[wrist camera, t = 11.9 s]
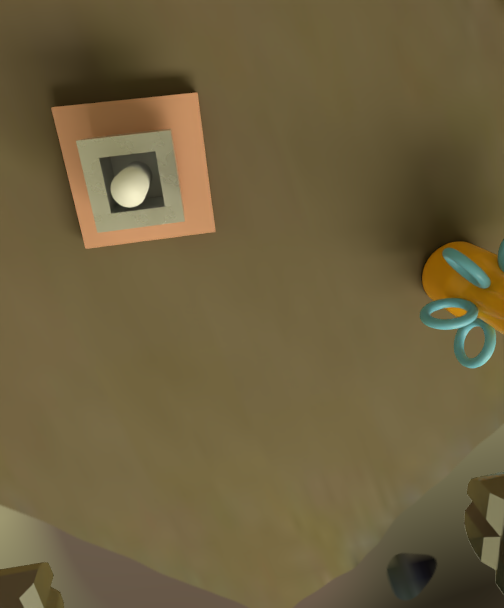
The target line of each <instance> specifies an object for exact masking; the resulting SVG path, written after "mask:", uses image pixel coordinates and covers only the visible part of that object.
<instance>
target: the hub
mask: <svg viewBox="0 0 504 608" xmlns="http://www.w3.org/2000/svg"><path fill="white" fill-rule="evenodd" d="M76 144H77V148H78V152H79V156H80V161H81V165H82V169H83V173H84V178H85V182H86V186H87V191H88V195H89V199H90V203H91V208H92V212H93V216H94V220H95V225H96V229H97V233H101V232H108V231H116V230H123V229H131V228H139V227H146V226H154V225H161V224H169V223H177V222H184V221H185V217H184V206H183V199H182V193H181V187H180V180H179V174H178V167H177V161H176V155H175V148H174V142H173V136H172V129H171V128H169V129H160V130H151V131H142V132H133V133H124V134H115V135H106V136H98V137H89V138H85V139H81V140H77V141H76ZM154 151H155V152H156V158H157V163H158V169H159V175H160V181H161V187H162V192H163V196H158V197H150V198H145V199H144V200H143V202H142V203H141V204H139V205H138V206H135V207H124V206H122V205H120V204H118V203H117V202H116V201H115V200H114V198H113V196H112V194H111V183H112V181H113V179H114V173H113V168H112V163H111V159H110V157H111V156H119V155H128V154H136V153H145V152H154Z"/></svg>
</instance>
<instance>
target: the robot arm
mask: <svg viewBox="0 0 504 608" xmlns="http://www.w3.org/2000/svg"><path fill="white" fill-rule="evenodd" d="M467 495H468V496H469V498H470V499H471V500H472V502H471V504H470V505H469V506H468V507H467V509H466V510H465V515H464V525H465V529H466V533H467V537H468V540H469V542H470V544H471V546H472V548H473V550H474V552H475V553H476V555H477V556H478V558H479V559H480V561H482V562H483V563H485V564H486V565H488V566H490V567H491V568H493V569H495V570H496V581H495V582H496V584H497V585H498V587H499V588H500V590H501V591H502V593H503V594H504V472H500V473H495V474H490V475H486V476H480V477H476V478H472V479H471V480H470V481H469V483H468V486H467ZM53 576H54V575H53V572H52V570H51V568H50V566H49V563H46V562H42V563H36V564H30V565H24V566H18V567H12V568H6V569H0V608H64V602H63V599H62V596H61V594H60V592H59V591H58V590H56V589H54V588H52V587H51V583H52V580H53Z"/></svg>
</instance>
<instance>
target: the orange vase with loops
mask: <svg viewBox="0 0 504 608" xmlns="http://www.w3.org/2000/svg"><path fill="white" fill-rule="evenodd" d="M422 284H423V288H424V290H425V292H426V294H427V295H428V296H429V297H430V298H431V299H432V300H433V302H431V303H429V304H427V305H425V306H424V307H423V308H422V310H421V312H420V319H421V321H422V322H423V323H424V324H425V325H427V326H429V327H431V328H435V329H444V330H447V329H456V328H459V329H458V331H457V333H456V336H455V340H454V352H455V356H456V358H457V360H458V361H459V362H460V363H461V364H462V365H463V366H465V367H468V368H477V367H480V366H482V365H483V364H485V363H486V362H487V361H488V360H489V358H490V357H491V355H492V354H493V351H494V349H495V344H496V333H495V330H494V328H495V329H496V330H498V331H499V332H501V333H502V334H504V239H503V241H502V243H501V245H500V248H499V251H498V255H496V254H494V253H492V252H489V251H487V250H485V249H482V248H480V247H478V246H476V245H473V244H471V243H468V242H463V241H456V242H451V243H448V244H445V245H443V246H441V247H440V248H438V249H437V250H436V251H435V252H434V253H432V255H431V256H430V257H429V258H428V260H427V262H426V264H425V266H424V269H423V274H422ZM442 308H444V309H446V310H447V311H449V312H450V313H451V314H453V315H455V316H456V317H458V318H454V319H436V318H433V317H431V316H430V314H431V313H432V312H434V311H436V310H439V309H442ZM475 326H480V327H481V328H482V329H483V331H484V334H485V343H484V347H483V349H482V351H481V352H480V354H479V355H478V356H477V357H475V358H468V357H467V356H466V354H465V352H464V340H465V337H466V335H467V333H468V332H469V331H470V329H472V328H473V327H475Z"/></svg>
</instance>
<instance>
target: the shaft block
mask: <svg viewBox="0 0 504 608" xmlns="http://www.w3.org/2000/svg"><path fill="white" fill-rule="evenodd" d="M51 109H52V113H53V117H54V121H55V125H56V129H57V134H58V138H59V142H60V146H61V150H62V154H63V158H64V162H65V166H66V170H67V175H68V179H69V183H70V187H71V191H72V195H73V199H74V203H75V207H76V211H77V216H78V220H79V224H80V228H81V232H82V236H83V240H84V244H85V248H86V249H88V248H95V247H103V246H110V245H118V244H126V243H133V242H141V241H148V240H156V239H164V238H171V237H179V236H187V235H194V234H202V233H209V232H215V224H214V216H213V208H212V201H211V193H210V185H209V178H208V170H207V162H206V155H205V147H204V139H203V132H202V124H201V116H200V109H199V101H198V93H187V94H177V95H168V96H158V97H148V98H138V99H128V100H118V101H108V102H99V103H89V104H79V105H69V106H59V107H51ZM169 128H171V129H172V136H173V142H174V148H175V155H176V161H177V167H178V174H179V180H180V187H181V193H182V199H183V206H184V217H185V221H184V222H177V223H169V224H161V225H154V226H146V227H139V228H131V229H123V230H116V231H108V232H101V233H97V229H96V225H95V220H94V216H93V212H92V208H91V203H90V199H89V195H88V191H87V186H86V182H85V178H84V173H83V169H82V165H81V161H80V156H79V152H78V148H77V144H76V141H77V140H81V139H85V138H89V137H98V136H106V135H115V134H124V133H133V132H142V131H151V130H160V129H169ZM110 159H111V163H112V168H113V173H114V179H113V181H112V183H111V194H112V196H113V198H114V200H115V201H116V202H117V203H118V204H120V205H122V206H124V207H135V206H138V205H139V204H141V203H142V202H143V200H144V199H145V198H150V197H158V196H163V192H162V187H161V181H160V175H159V169H158V163H157V158H156V152H155V151H154V152H145V153H136V154H128V155H119V156H111V157H110Z"/></svg>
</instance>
